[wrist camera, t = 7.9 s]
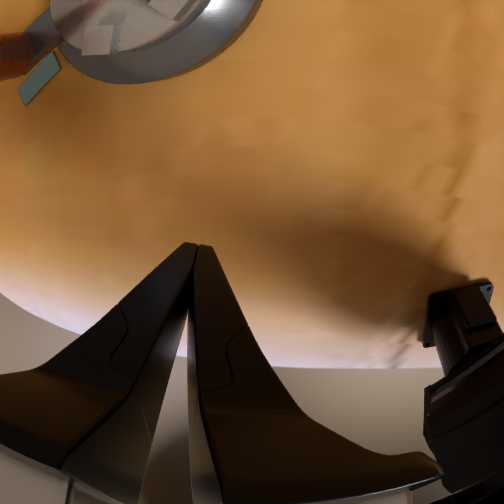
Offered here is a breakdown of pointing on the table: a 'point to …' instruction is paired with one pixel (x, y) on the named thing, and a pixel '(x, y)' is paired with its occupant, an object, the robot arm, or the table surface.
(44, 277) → the table surface
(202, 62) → the flange base
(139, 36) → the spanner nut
